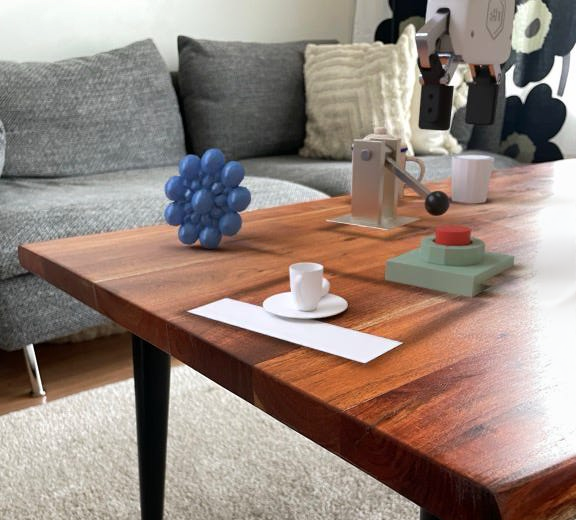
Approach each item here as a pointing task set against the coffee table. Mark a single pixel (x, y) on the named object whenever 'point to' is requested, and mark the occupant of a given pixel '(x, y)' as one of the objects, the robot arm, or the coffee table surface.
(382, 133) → the teacup with lid
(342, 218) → the switch bracket
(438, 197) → the switch lever
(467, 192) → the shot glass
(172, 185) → the blue beaded flower wheel
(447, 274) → the green button base
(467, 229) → the button
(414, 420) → the coffee table surface
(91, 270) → the coffee table surface
